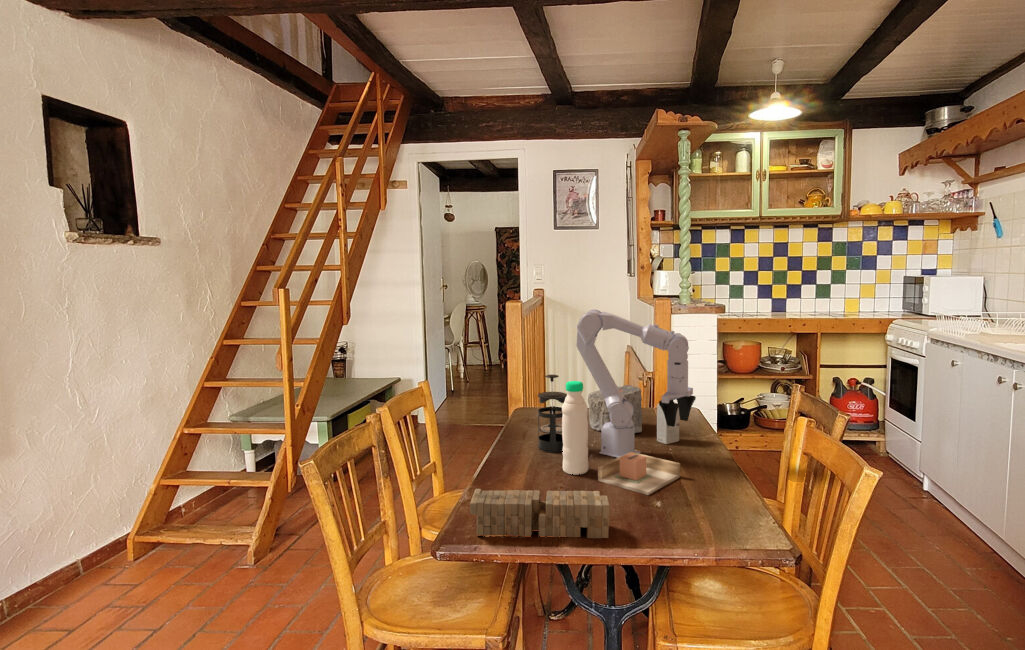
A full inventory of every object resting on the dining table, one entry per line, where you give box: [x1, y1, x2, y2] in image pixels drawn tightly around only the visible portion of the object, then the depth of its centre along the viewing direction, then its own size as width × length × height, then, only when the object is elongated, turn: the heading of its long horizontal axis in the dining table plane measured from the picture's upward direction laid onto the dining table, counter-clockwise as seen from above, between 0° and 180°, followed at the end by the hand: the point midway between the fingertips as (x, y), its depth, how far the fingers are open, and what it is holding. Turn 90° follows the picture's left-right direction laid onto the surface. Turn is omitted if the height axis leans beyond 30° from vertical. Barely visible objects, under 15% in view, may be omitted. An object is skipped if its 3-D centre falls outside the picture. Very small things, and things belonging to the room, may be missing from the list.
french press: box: [537, 374, 568, 453], centre depth 185 cm, size 12×9×23 cm
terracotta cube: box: [620, 453, 646, 480], centre depth 158 cm, size 5×5×5 cm
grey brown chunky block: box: [587, 384, 643, 434], centre depth 205 cm, size 19×17×15 cm
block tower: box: [469, 488, 610, 539], centre depth 130 cm, size 8×8×29 cm
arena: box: [597, 452, 681, 496], centre depth 158 cm, size 15×16×4 cm
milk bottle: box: [561, 380, 589, 476], centre depth 164 cm, size 7×7×25 cm
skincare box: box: [656, 403, 680, 445], centre depth 189 cm, size 6×4×12 cm
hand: (677, 423), depth 173 cm, fingers open, 7 cm apart
